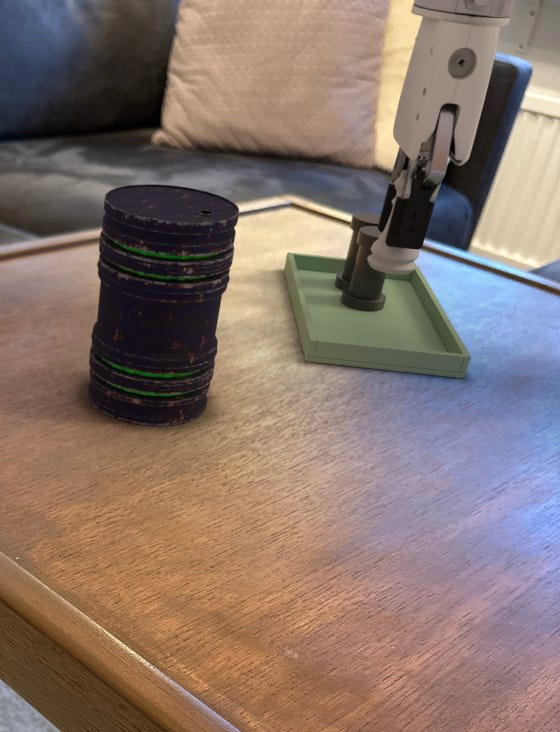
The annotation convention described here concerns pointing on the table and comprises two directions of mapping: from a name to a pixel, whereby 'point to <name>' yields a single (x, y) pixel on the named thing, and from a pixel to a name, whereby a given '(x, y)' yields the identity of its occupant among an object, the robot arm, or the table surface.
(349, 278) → the black piece
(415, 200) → the robot arm
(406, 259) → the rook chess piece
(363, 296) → the black piece
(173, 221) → the dark barrel
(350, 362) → the piece tray
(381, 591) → the table surface
